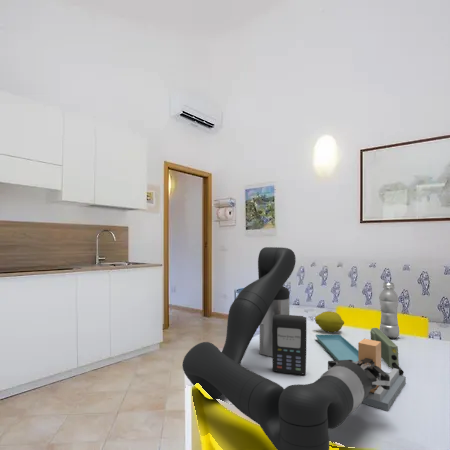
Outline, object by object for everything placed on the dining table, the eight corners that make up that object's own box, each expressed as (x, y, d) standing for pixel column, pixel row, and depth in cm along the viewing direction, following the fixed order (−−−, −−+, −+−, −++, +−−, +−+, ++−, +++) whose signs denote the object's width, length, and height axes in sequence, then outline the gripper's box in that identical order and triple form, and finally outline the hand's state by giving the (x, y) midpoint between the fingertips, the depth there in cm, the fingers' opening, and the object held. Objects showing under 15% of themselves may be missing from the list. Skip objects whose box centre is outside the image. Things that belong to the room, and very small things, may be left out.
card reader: (270, 372, 89) (271, 316, 90) (272, 367, 93) (273, 313, 94) (306, 376, 87) (306, 318, 87) (306, 371, 90) (306, 315, 91)
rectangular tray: (373, 370, 93) (373, 361, 93) (341, 370, 93) (341, 361, 93) (340, 341, 119) (340, 334, 119) (315, 341, 119) (315, 334, 119)
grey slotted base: (387, 411, 69) (387, 396, 70) (340, 396, 76) (340, 383, 76) (405, 383, 83) (405, 370, 84) (364, 372, 90) (364, 361, 90)
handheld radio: (380, 347, 112) (408, 377, 87) (370, 347, 112) (395, 377, 88) (379, 327, 112) (407, 352, 88) (369, 327, 113) (393, 351, 88)
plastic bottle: (403, 340, 120) (402, 284, 121) (384, 339, 120) (383, 284, 121) (394, 335, 126) (393, 282, 127) (376, 334, 126) (375, 282, 127)
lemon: (344, 331, 131) (344, 310, 132) (344, 336, 124) (344, 314, 124) (316, 328, 135) (316, 308, 135) (314, 333, 128) (314, 312, 128)
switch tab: (375, 393, 74) (375, 346, 74) (358, 388, 76) (357, 343, 77) (381, 386, 78) (381, 341, 78) (364, 381, 80) (364, 338, 80)
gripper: (308, 397, 66) (340, 372, 79) (380, 421, 57) (401, 388, 71) (309, 358, 66) (340, 340, 79) (380, 377, 58) (401, 353, 71)
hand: (369, 363), depth 75 cm, fingers closed
